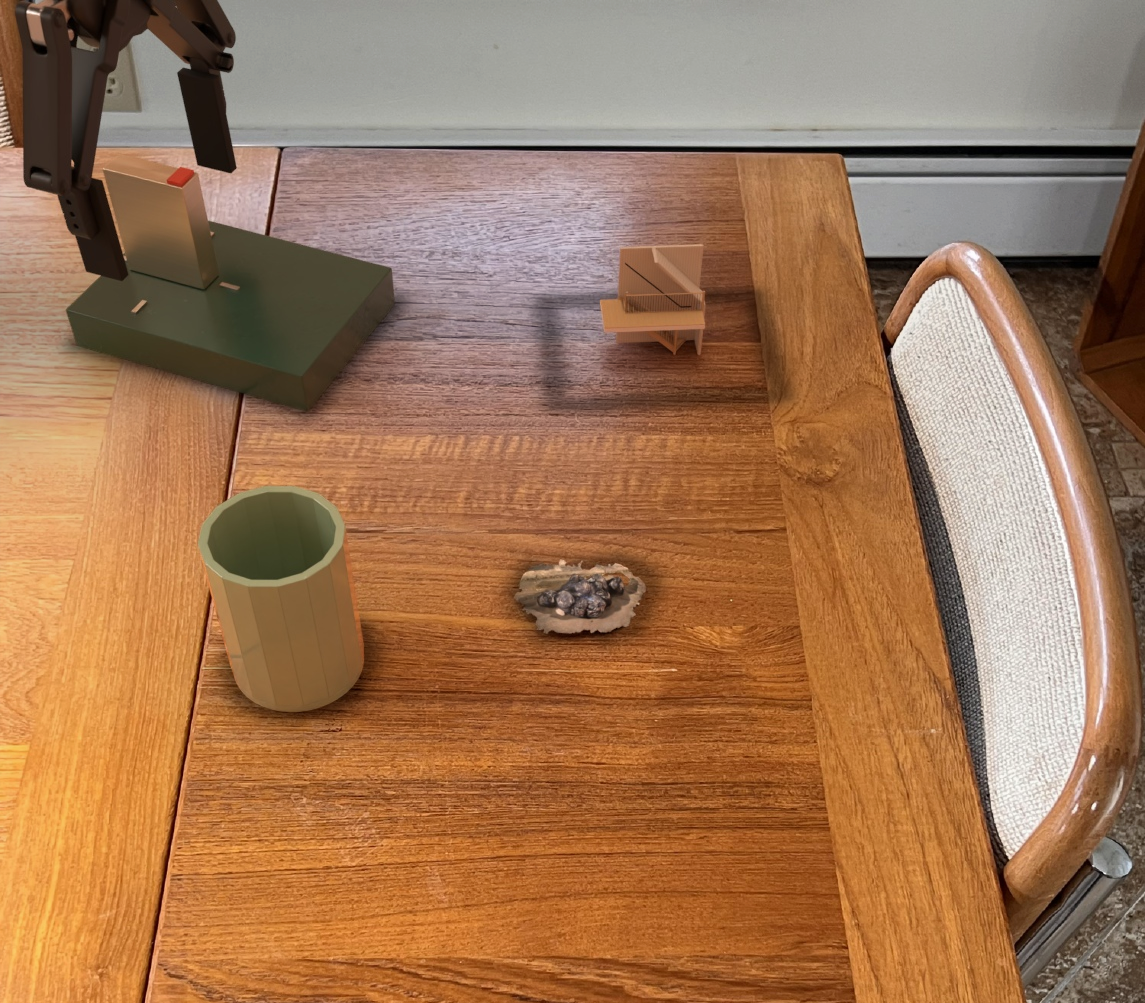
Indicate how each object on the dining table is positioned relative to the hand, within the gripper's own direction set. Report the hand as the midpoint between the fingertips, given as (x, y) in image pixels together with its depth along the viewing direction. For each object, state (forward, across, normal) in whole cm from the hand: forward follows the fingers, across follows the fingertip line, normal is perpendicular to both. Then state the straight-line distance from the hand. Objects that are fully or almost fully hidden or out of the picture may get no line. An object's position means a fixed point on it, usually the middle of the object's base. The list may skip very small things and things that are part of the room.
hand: (164, 218), depth 95 cm
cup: (+7, -26, -23) cm, 36 cm away
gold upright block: (+4, 0, 0) cm, 4 cm away
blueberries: (+8, -15, -36) cm, 40 cm away
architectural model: (+8, +9, -32) cm, 34 cm away
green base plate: (+7, 0, -4) cm, 8 cm away
